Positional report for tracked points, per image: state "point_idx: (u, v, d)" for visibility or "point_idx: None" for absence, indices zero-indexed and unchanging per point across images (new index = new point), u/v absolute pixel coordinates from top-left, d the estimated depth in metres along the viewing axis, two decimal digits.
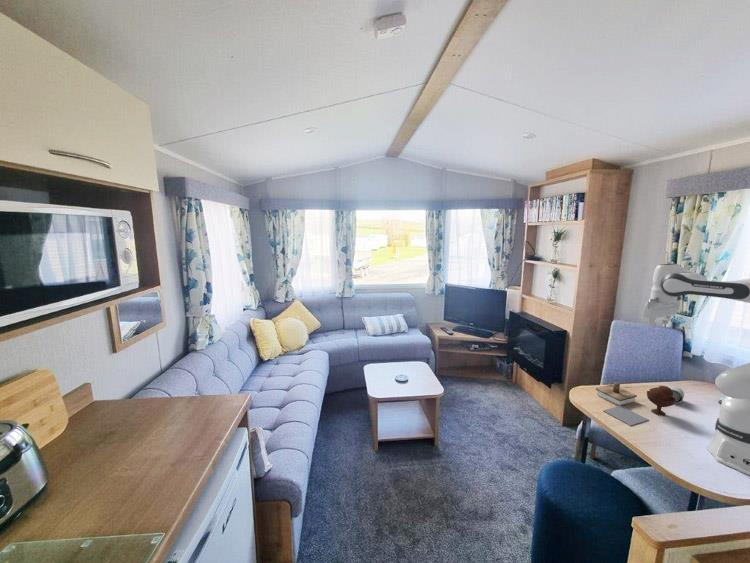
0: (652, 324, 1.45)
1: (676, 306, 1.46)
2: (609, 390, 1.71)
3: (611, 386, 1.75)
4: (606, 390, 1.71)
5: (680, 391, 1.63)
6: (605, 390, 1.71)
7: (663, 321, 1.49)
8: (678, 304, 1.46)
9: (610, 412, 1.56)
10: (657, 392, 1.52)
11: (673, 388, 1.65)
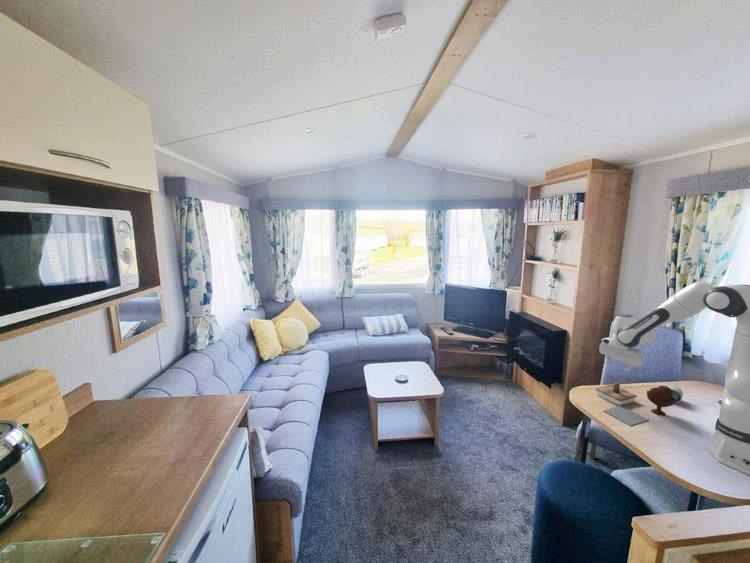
0: (629, 369, 1.62)
1: None
2: (609, 390, 1.71)
3: (611, 386, 1.75)
4: (606, 390, 1.71)
5: (679, 391, 1.64)
6: (605, 390, 1.71)
7: (610, 362, 1.71)
8: None
9: (610, 412, 1.56)
10: (657, 392, 1.52)
11: (672, 388, 1.65)
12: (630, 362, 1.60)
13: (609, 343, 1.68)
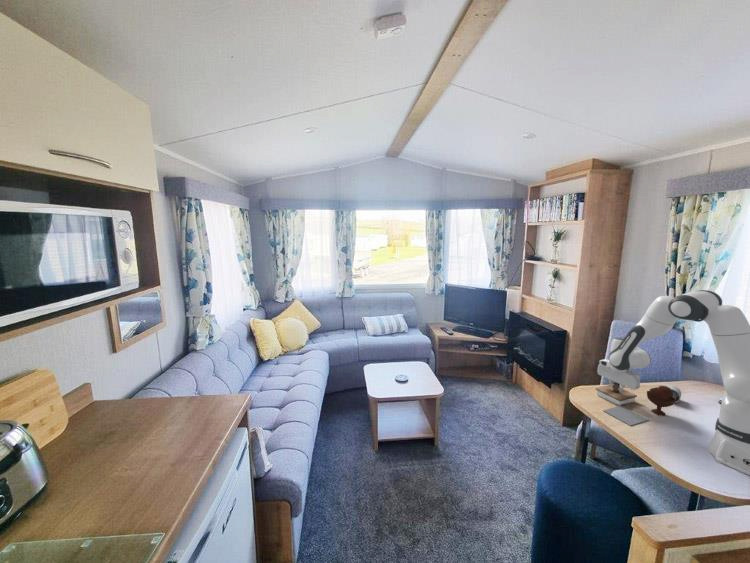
0: (622, 389, 1.67)
1: None
2: (609, 390, 1.71)
3: None
4: (606, 390, 1.71)
5: (677, 390, 1.64)
6: (605, 390, 1.71)
7: (613, 386, 1.70)
8: None
9: (610, 412, 1.56)
10: (657, 392, 1.52)
11: (670, 387, 1.66)
12: (627, 385, 1.62)
13: (607, 365, 1.70)
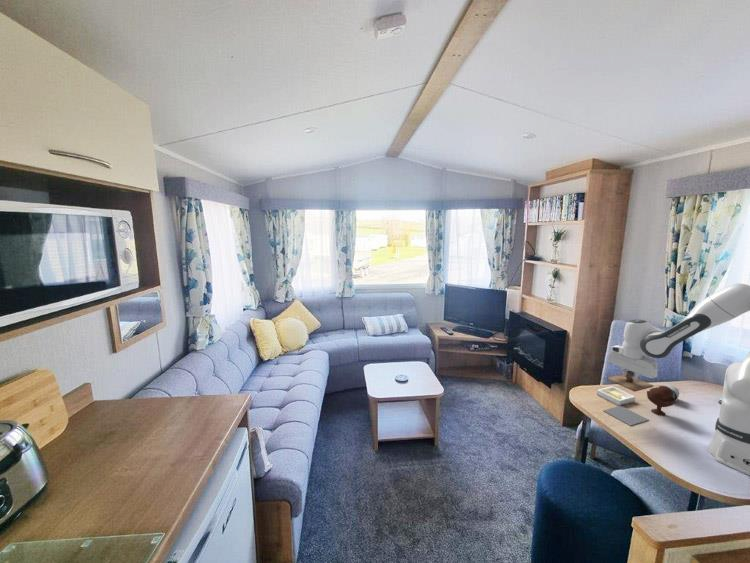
0: (636, 378, 1.48)
1: None
2: (622, 379, 1.53)
3: None
4: (618, 380, 1.53)
5: (675, 390, 1.65)
6: (617, 380, 1.53)
7: (626, 375, 1.52)
8: None
9: (610, 412, 1.56)
10: (657, 392, 1.52)
11: None
12: (643, 373, 1.43)
13: (619, 351, 1.51)
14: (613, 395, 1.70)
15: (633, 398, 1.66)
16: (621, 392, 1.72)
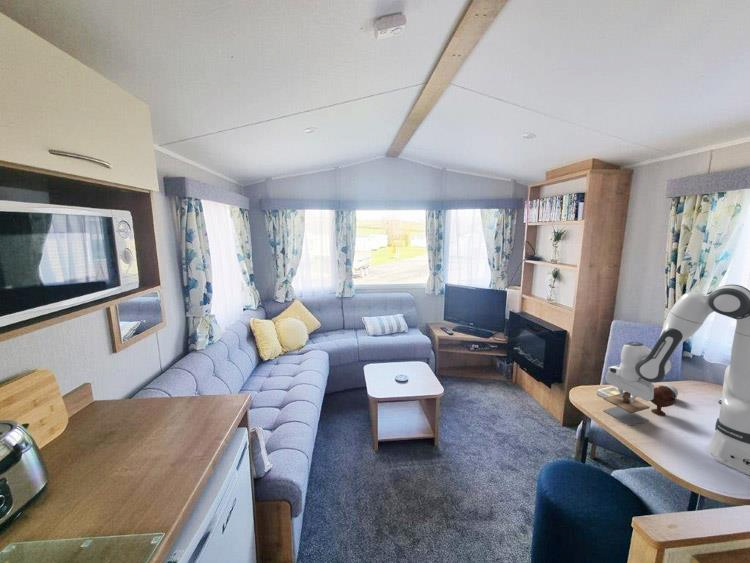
0: (633, 400, 1.50)
1: None
2: (619, 400, 1.55)
3: None
4: (615, 400, 1.55)
5: (674, 389, 1.65)
6: (614, 400, 1.55)
7: (623, 396, 1.54)
8: None
9: (610, 412, 1.56)
10: (657, 392, 1.52)
11: (667, 386, 1.67)
12: (640, 395, 1.45)
13: (616, 373, 1.53)
14: None
15: None
16: None
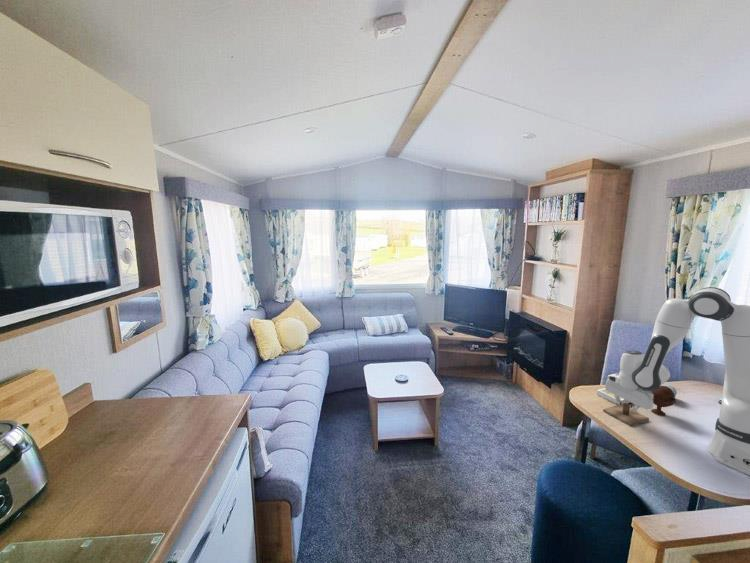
0: (636, 410, 1.49)
1: None
2: (618, 411, 1.56)
3: (620, 406, 1.60)
4: (615, 411, 1.56)
5: (672, 389, 1.65)
6: (613, 411, 1.56)
7: (619, 402, 1.56)
8: None
9: None
10: (657, 392, 1.52)
11: None
12: (639, 404, 1.46)
13: (616, 381, 1.54)
14: (613, 395, 1.70)
15: None
16: None
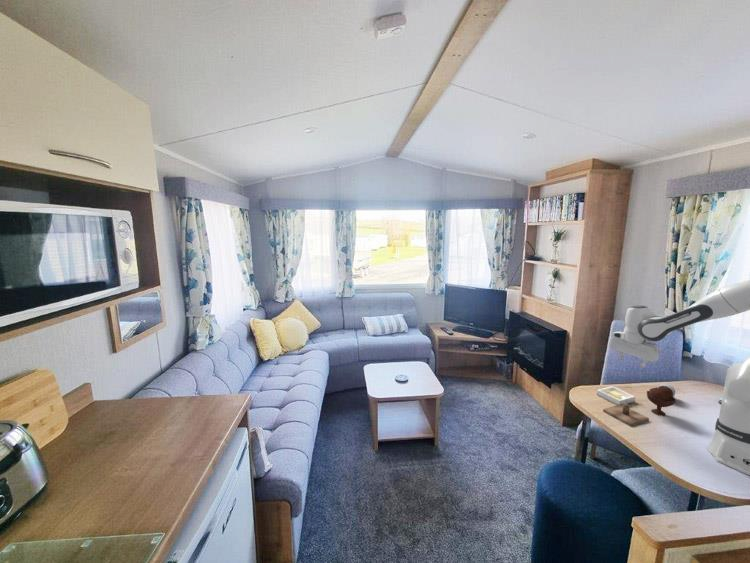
0: (644, 365, 1.50)
1: None
2: (618, 411, 1.56)
3: (620, 406, 1.60)
4: (615, 411, 1.56)
5: (671, 389, 1.66)
6: (613, 411, 1.56)
7: (622, 358, 1.58)
8: None
9: None
10: (657, 392, 1.52)
11: None
12: (645, 357, 1.47)
13: (621, 337, 1.55)
14: (613, 395, 1.70)
15: (633, 398, 1.66)
16: (621, 392, 1.72)
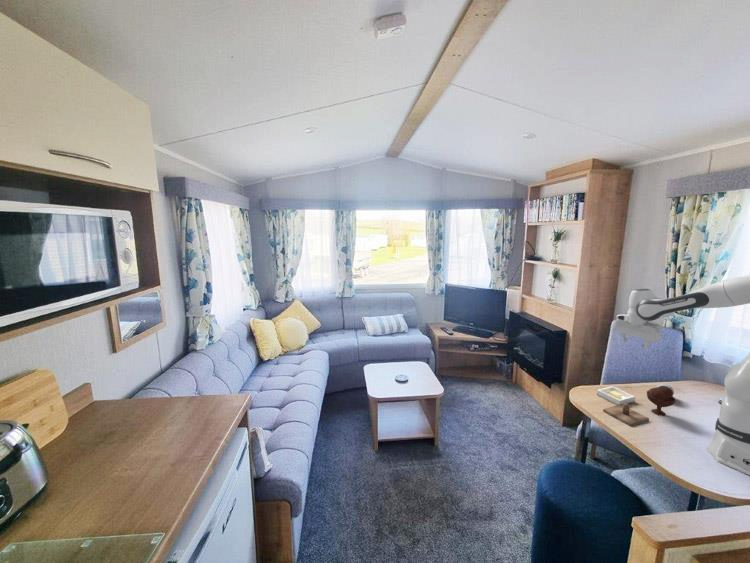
0: (646, 346, 1.55)
1: None
2: (618, 411, 1.56)
3: (620, 406, 1.60)
4: (615, 411, 1.56)
5: (670, 388, 1.66)
6: (613, 411, 1.56)
7: (626, 339, 1.64)
8: None
9: None
10: (657, 392, 1.52)
11: (663, 385, 1.68)
12: (647, 338, 1.53)
13: (624, 319, 1.61)
14: (613, 395, 1.70)
15: (633, 398, 1.66)
16: (621, 392, 1.72)
